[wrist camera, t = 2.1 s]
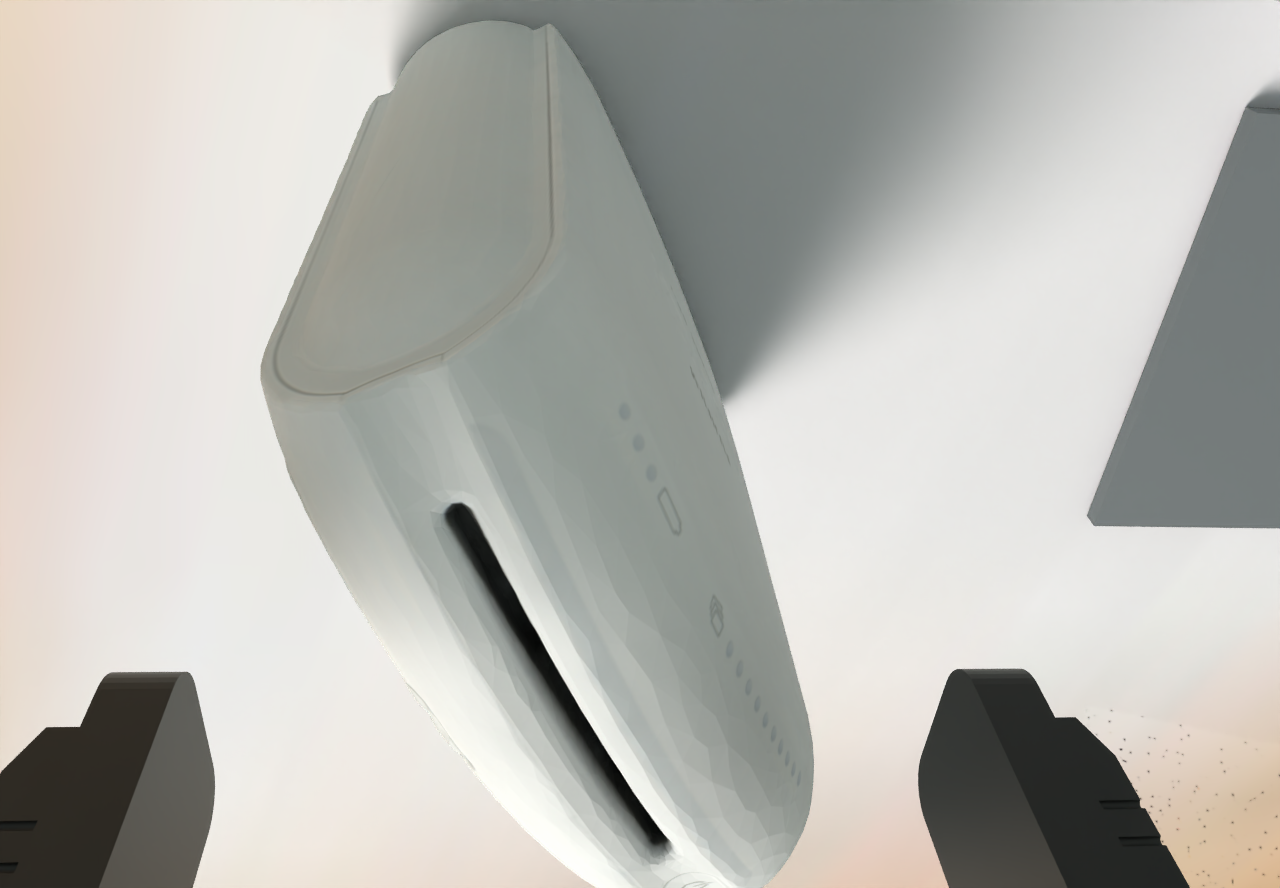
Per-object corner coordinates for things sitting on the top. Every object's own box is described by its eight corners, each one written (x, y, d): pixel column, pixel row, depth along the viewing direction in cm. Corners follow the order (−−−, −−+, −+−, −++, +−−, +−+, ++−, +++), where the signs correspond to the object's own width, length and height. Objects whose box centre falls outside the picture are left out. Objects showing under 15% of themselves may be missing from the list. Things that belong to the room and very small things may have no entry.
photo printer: (745, 429, 24) (895, 951, 14) (570, 492, 24) (588, 1036, 14) (564, -26, 18) (590, 278, 8) (343, 69, 19) (106, 465, 9)
